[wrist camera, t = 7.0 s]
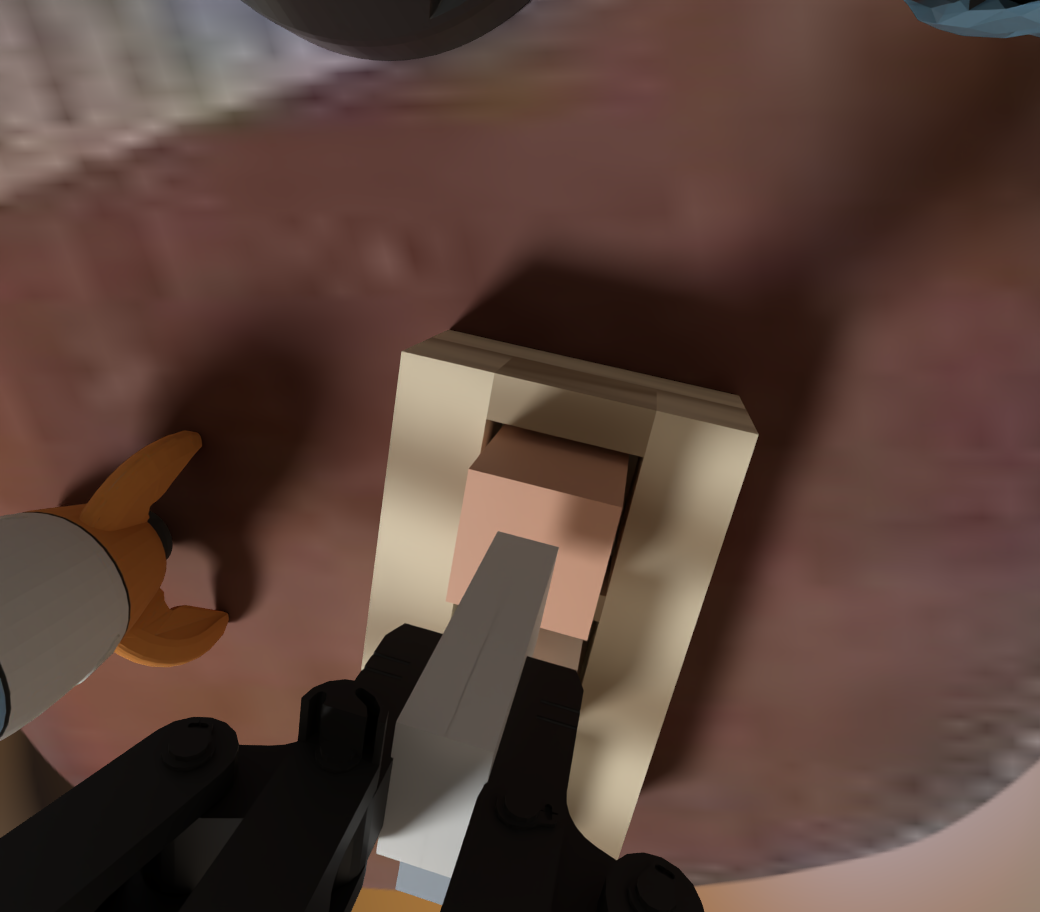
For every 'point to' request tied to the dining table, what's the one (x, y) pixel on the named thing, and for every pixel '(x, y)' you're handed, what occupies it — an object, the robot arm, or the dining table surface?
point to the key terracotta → (544, 516)
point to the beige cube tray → (637, 544)
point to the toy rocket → (94, 587)
